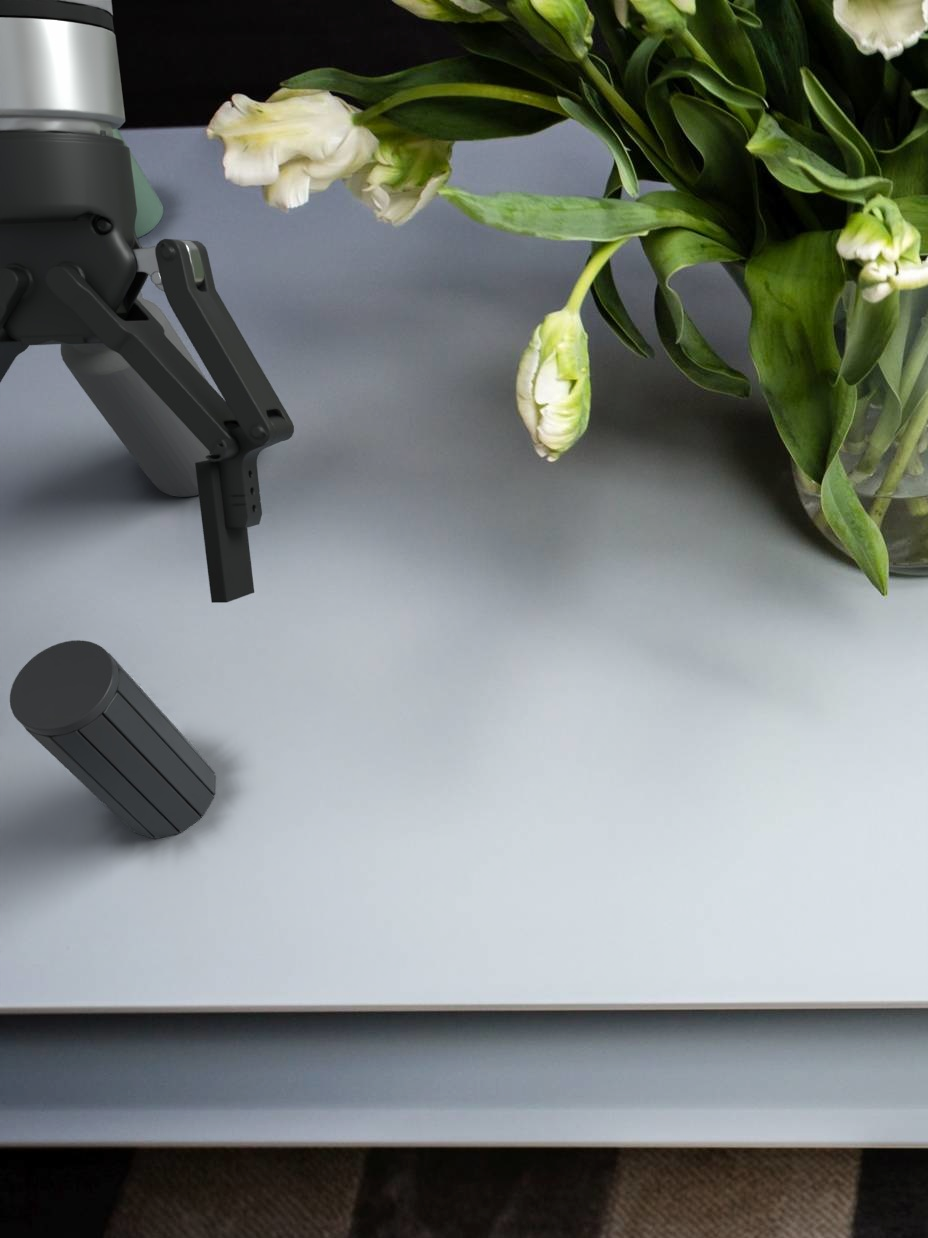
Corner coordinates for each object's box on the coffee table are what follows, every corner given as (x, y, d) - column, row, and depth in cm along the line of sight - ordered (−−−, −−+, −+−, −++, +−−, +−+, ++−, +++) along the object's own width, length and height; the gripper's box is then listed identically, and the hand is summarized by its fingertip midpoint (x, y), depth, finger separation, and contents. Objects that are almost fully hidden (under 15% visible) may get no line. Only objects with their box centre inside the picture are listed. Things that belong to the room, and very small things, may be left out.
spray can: (83, 237, 109) (-29, 67, 98) (120, 190, 111) (15, 19, 100) (140, 247, 108) (33, 77, 96) (176, 200, 110) (76, 28, 99)
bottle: (261, 465, 96) (141, 277, 84) (170, 514, 95) (35, 331, 82) (224, 407, 99) (103, 217, 86) (135, 454, 98) (0, 269, 85)
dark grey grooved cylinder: (105, 824, 84) (-12, 715, 75) (155, 744, 86) (47, 629, 77) (184, 848, 83) (75, 740, 74) (233, 766, 85) (133, 652, 76)
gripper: (336, 130, 75) (379, 583, 80) (-156, 152, 78) (-86, 586, 83) (259, 112, 68) (311, 611, 73) (-279, 137, 71) (-196, 614, 76)
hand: (99, 599), depth 78 cm, fingers open, 13 cm apart
